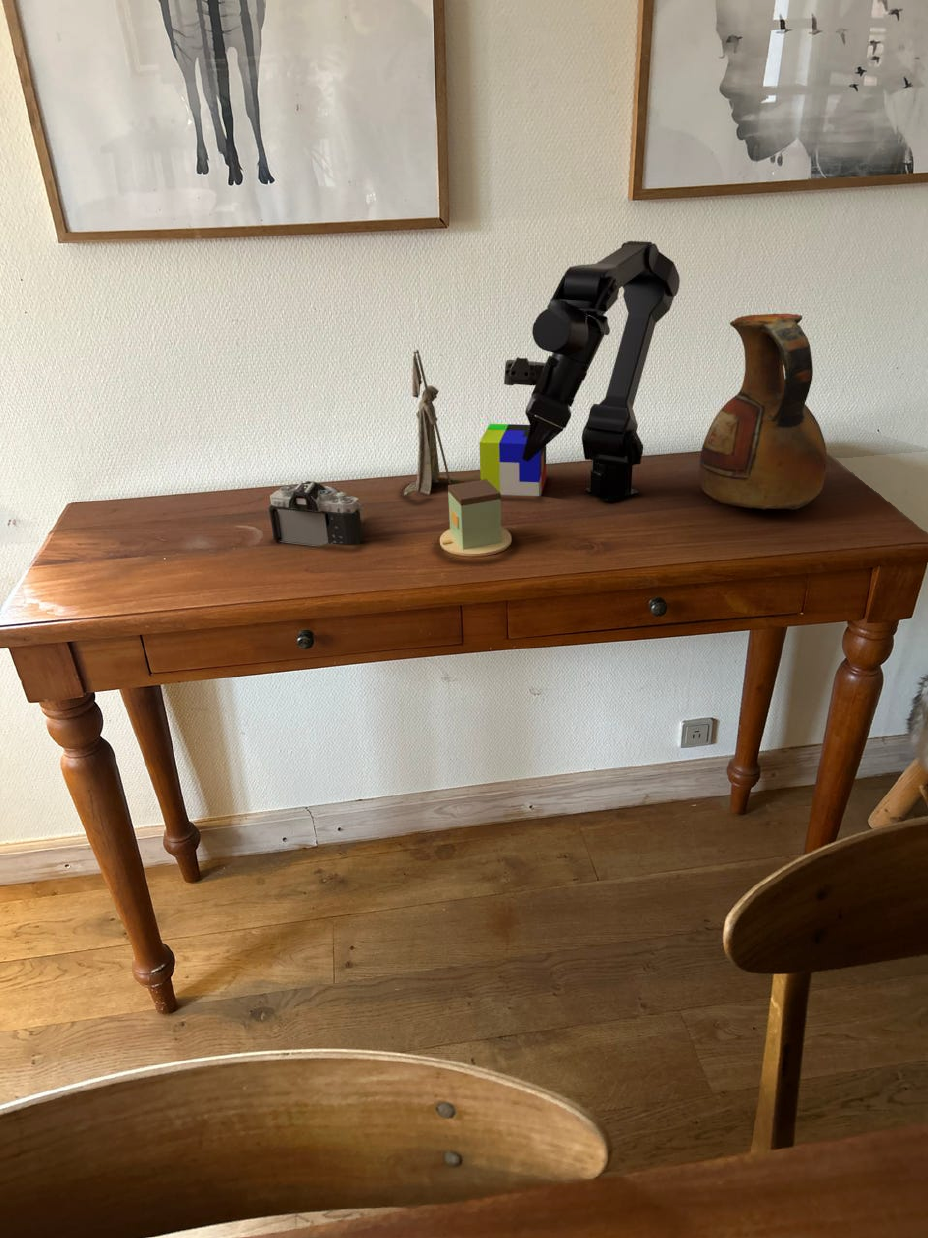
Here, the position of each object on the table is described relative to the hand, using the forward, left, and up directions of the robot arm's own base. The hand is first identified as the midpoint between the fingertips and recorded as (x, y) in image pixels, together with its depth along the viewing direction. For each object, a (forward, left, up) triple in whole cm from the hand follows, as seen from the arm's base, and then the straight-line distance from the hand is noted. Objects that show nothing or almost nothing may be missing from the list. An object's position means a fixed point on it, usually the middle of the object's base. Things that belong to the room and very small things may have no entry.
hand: (526, 454), depth 136 cm
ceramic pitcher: (-37, +13, -13) cm, 41 cm away
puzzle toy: (-8, -16, -13) cm, 22 cm away
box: (+10, 0, -12) cm, 15 cm away
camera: (+28, -17, -13) cm, 35 cm away
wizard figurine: (+5, -24, -13) cm, 27 cm away
